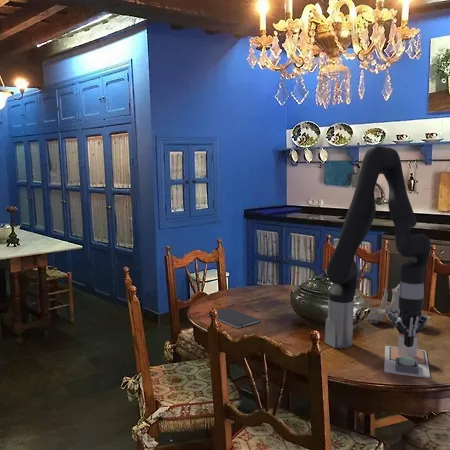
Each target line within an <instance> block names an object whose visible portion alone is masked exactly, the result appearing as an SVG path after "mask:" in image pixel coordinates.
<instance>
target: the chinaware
mask: <svg viewBox="0 0 450 450" xmlns="http://www.w3.org/2000/svg"><path fill="white" fill-rule="evenodd" d="M399 286H400V283H398V285H397V286H396V287H394V288H391V292H392V298H391V301H390V305H387V301H388V290H387V289H386V288H382V290H383V292H384V293H383V296H382V299H381V301H380V308H379V307H374V306H373V307H371V308H370V307H369V308H370V309H371V311H370V313H369V314H368V316H367V315H366V316H367V317H366V318H367V319H368V320H369V321H370V323H371V324H379V322H380V321H381V320H383V318H384V316H385V317H386V318H387V321H388V322H390V323H392V324H393V321H394V320H397V319H398V318H399V313H400V309H399V307H398V305H399ZM421 313H422V316H424V317H426V318H427V320H426V321H425V323H424V325H423V327H422V328H421V330H423V328H425V329H426V328H427V327H429V325H428V323H429V321H432V324H431V325H430V327H433V325H434V324H435V323H434V320H433V319H432V318H431V316H429V315H427V314H426V313H423V312H421ZM417 328H418V326H417Z"/></svg>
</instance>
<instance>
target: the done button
mask: <svg viewBox="0 0 450 450" xmlns="http://www.w3.org/2000/svg"><path fill="white" fill-rule="evenodd" d="M399 365H401V366H409V367H415V359H414V358H412V357H409V356H401V357H399Z"/></svg>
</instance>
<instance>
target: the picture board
mask: <svg viewBox="0 0 450 450" xmlns="http://www.w3.org/2000/svg"><path fill="white" fill-rule="evenodd" d="M399 357H401V356H400V355H398V346H390V345H384V365H383V367H384V370H383V371H384V372H383V373H385V374H387V373H388V374H393V375H401V376H411V377H415V378H416V377H417V378H425V379H431V373H430V368H429V362H428V356H427V351H426V350H424V349H418V348H417V356H416V357H413V358H414V359H415V367H409V366H401V365H399Z"/></svg>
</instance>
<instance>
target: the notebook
mask: <svg viewBox="0 0 450 450" xmlns="http://www.w3.org/2000/svg"><path fill="white" fill-rule="evenodd" d="M216 311H217V312H218V320H219V321H218V320H217V321H218V322H221V323H223V324H226V325H228V326H231V327H233V328H234V329H235V328H236V329H241V328H243V327H246V326H250V325H253V324H257V323H260V322H261V319H259V318H257V317H254V316H251V315H249V314H246V313H243V312H241V311H237V310H235V309H232V308H229V307H227V308H226V307H225V308H222V309H218V310H216ZM206 316H207V317H209V312H207V313H206Z"/></svg>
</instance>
